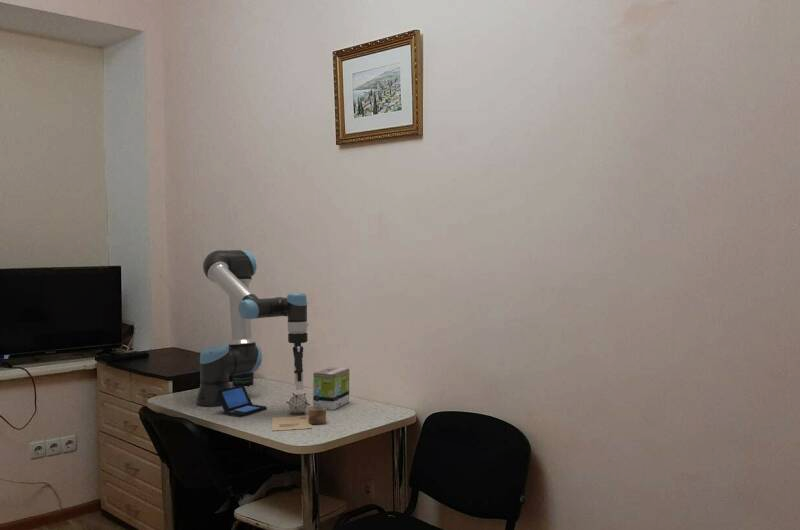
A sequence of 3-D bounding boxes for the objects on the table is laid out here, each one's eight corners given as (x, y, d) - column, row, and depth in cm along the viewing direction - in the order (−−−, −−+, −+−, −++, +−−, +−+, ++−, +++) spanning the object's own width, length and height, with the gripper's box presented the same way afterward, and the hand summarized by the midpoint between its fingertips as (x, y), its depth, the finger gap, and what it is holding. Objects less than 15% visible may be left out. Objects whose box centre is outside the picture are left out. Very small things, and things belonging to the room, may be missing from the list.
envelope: (272, 431, 232) (272, 430, 232) (272, 418, 250) (272, 417, 250) (312, 428, 235) (312, 427, 235) (309, 416, 252) (309, 415, 252)
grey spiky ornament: (302, 422, 259) (317, 400, 261) (297, 419, 251) (312, 397, 253) (284, 409, 261) (299, 388, 264) (279, 406, 253) (294, 384, 256)
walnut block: (309, 423, 240) (309, 410, 240) (308, 419, 246) (309, 406, 246) (325, 423, 241) (326, 410, 241) (324, 419, 247) (325, 406, 247)
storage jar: (247, 382, 322) (247, 351, 321) (257, 385, 314) (257, 354, 314) (228, 384, 315) (228, 353, 315) (238, 388, 308) (237, 356, 308)
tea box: (335, 410, 262) (334, 373, 262) (312, 408, 265) (312, 372, 265) (350, 402, 276) (349, 367, 276) (328, 400, 280) (328, 366, 279)
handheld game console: (241, 418, 252) (241, 394, 252) (215, 414, 258) (215, 391, 258) (268, 409, 265) (268, 386, 265) (243, 406, 272) (243, 384, 272)
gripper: (309, 335, 245) (310, 392, 245) (305, 328, 270) (306, 380, 270) (288, 336, 244) (289, 393, 244) (287, 329, 268) (288, 381, 269)
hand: (298, 386), depth 257 cm, fingers open, 13 cm apart
